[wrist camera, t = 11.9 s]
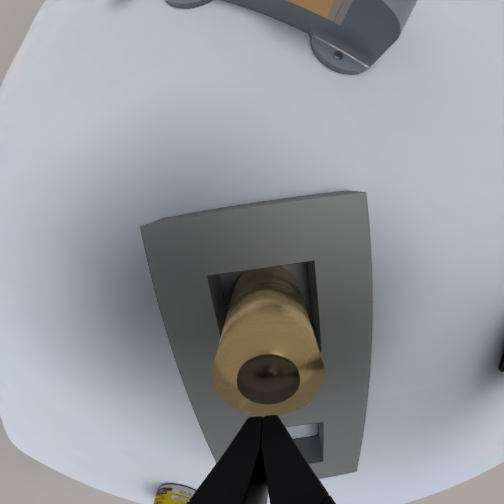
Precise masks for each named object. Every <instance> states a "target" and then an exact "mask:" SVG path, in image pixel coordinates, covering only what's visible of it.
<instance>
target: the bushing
mask: <svg viewBox="0 0 504 504" xmlns="http://www.w3.org/2000/svg"><path fill="white" fill-rule="evenodd" d="M324 375H325V370H324V364H323V361H322V357H321V354H320V351H319V348H318V344H317V341H316V338H315V335H314V332H313V329H312V325H311V322H310V319H309V316H308V313H307V310H306V307H305V304H304V301H303V298H302V295H301V292H300V289H299V286H298V283H297V281H296V279H295V278H294V276H293V275H292V274H291V273H290V272H289V271H287V270H286V269H284V268H282V267H280V266H272V267H265V268H258V269H251V270H247V271H245V272H244V273H243V274H242V275H241V276H240V277H239V279H238V280H237V282H236V284H235V287H234V291H233V294H232V298H231V302H230V305H229V309H228V312H227V316H226V320H225V323H224V327H223V331H222V334H221V338H220V342H219V345H218V349H217V353H216V356H215V360H214V364H213V368H212V381H213V385H214V387H215V389H216V391H217V393H218V394H219V396H220V397H221V398H222V399H223V400H224V401H225V402H226V403H227V404H228V405H230V406H231V407H233V408H234V409H236V410H238V411H241V412H243V413H246V414H249V415H254V416H261V417H264V416H267V415H278V416H281V415H285V414H289V413H291V412H294V411H296V410H298V409H300V408H302V407H304V406H305V405H306V404H308V403H309V402H310V401H311V400H312V399H313V398H314V397H315V396H316V395H317V394H318V392H319V390H320V389H321V387H322V384H323V381H324Z"/></svg>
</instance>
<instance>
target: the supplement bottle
mask: <svg viewBox="0 0 504 504" xmlns="http://www.w3.org/2000/svg"><path fill="white" fill-rule="evenodd" d="M195 492H196V491H195V490H193V489H190V488H187V487H184V486H180V485H172V484H168V485H163V486H161V487H160V488H159V489H158V492H157V495H156V498H155V501H154V504H186V503H187V502H190V501H189V499H190V498H191V497H192V496H193V494H194V493H195Z"/></svg>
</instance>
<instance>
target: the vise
mask: <svg viewBox="0 0 504 504" xmlns="http://www.w3.org/2000/svg"><path fill="white" fill-rule="evenodd" d="M211 1H213V0H167V2H168V3H169V4H170V5H172V6H174V7H177V8H195V7H199V6H202V5H205V4H207V3H209V2H211ZM224 1H227V2H230V3H234V4H237V5H240V6H243V7H246V8H249V9H251V10H254V11H257V12H260V13H262V14H265V15H267V16H270V17H272V18H275V19H277V20H280V21H282V22H284V23H287V24H289V25H291V26H293V27H296V28H298V29H300V30H302V31H304V32H306V33H308V34H309V35H310V36H311V45H312V49H313V52H314V53H315V55H316V57H317V58H318V59H319V60H320V61H321V62H322V63H323V64H324V65H325V66H327V67H328V68H330V69H332V70H334V71H336V72H339V73H342V74H349V75H354V74H359V73H362V72H364V71H366V70H367V69H369V68H370V67H371V66H372V65H373V64H374V63H375V61H376V60H377V59H378V58H379V57H380V56H381V55H382V54H383V53H384V52H385V51H386V50H387V49H388V48H389V47H390V46H391V45H392V44H393V43H394V42H395V41H396V40H397V39H398V38H399V36H400V34H401V32H402V30H403V28H404V26H405V24H406V22H407V21H408V19H409V17H410V15H411V13H412V11H413V9H414V7H415V5H416V3H417V1H418V0H224ZM334 55H338V56H339V57H340V58H341V59H336V58H335V57H334Z"/></svg>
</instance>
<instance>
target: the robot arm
mask: <svg viewBox="0 0 504 504" xmlns="http://www.w3.org/2000/svg"><path fill="white" fill-rule="evenodd" d="M499 370H500V371H501V372H504V354H503V357H502V361H501V364H500V367H499ZM268 493H269V498H270V504H336V503H335V502H334V500H333V499H332V497H331V496H329V494H328V492H327V491H326V489H325V488H324V486H323V485H322V483H321V482H320V480H319V479H318V477H317V476H316V474H315V473H314V471H313V470H312V468H311V467H310V465H309V464H308V462H307V461H306V459H305V458H304V456H303V455H302V453H301V452H300V450H299V448H298V447H297V445H296V444H295V442H294V441H293V439H292V437H291V436H290V434H289V433H288V431H287V429H286V428H285V426H284V425H283V423H282V421H281V420H280V418H279V416H278V415H267V416H264V417H261V416H256V417H249V418H247V420H246V421H245V423H244V424H243V426H242V427H241V429H240V430H239V432H238V433H237V435H236V436H235V438H234V439H233V441H232V442H231V443H230V445H229V446H228V448H227V449H226V451H225V452H224V454H223V455H222V456H221V458H220V459H219V461H218V462H217V463H216V465H215V466H214V468H213V469H212V470H211V472H210V473H209V474H208V476H207V477H206V478H205V480H204V481H203V482H202V484H201V485H200V486H199V488H198V489H197V490H196V492H195V493H194V494H193V496H192V497H191V498H190V499H189V501H190V502H187V503H186V504H267V497H268Z"/></svg>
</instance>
